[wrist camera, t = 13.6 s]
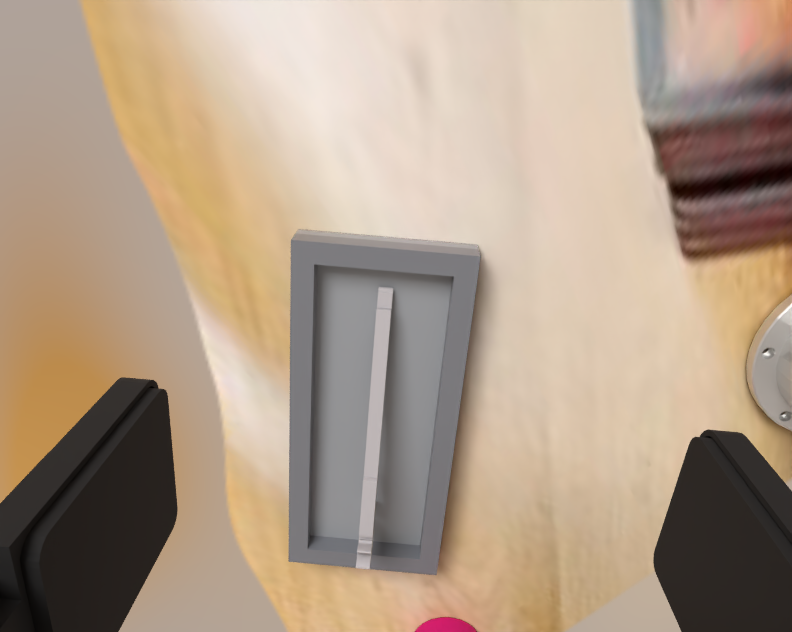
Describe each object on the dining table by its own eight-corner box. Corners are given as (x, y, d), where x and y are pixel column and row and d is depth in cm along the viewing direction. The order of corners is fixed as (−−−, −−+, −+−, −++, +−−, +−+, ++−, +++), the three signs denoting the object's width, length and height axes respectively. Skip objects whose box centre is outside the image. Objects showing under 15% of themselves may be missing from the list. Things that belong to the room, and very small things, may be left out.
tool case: (477, 244, 40) (480, 256, 38) (436, 551, 51) (436, 575, 49) (298, 229, 41) (291, 239, 38) (294, 538, 51) (288, 561, 49)
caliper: (376, 521, 49) (369, 584, 43) (362, 520, 49) (354, 583, 43) (393, 286, 41) (388, 324, 35) (377, 284, 41) (370, 322, 35)
